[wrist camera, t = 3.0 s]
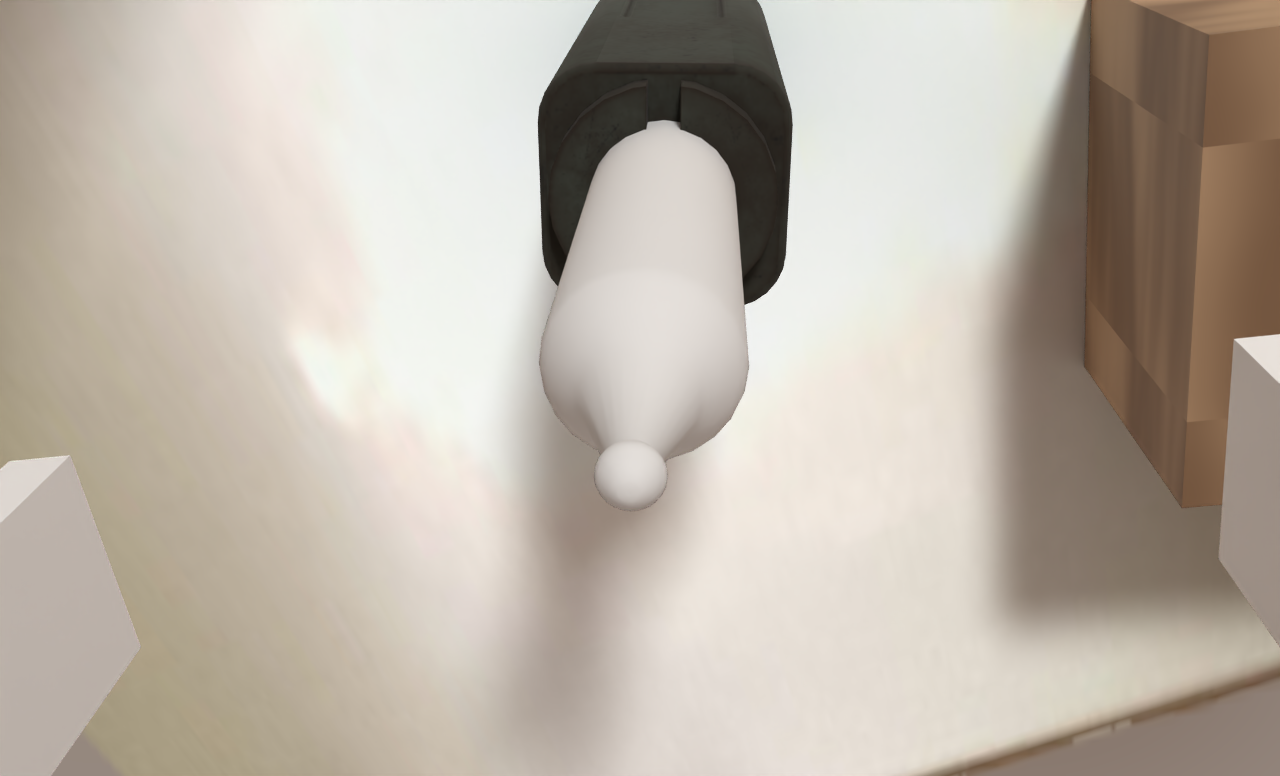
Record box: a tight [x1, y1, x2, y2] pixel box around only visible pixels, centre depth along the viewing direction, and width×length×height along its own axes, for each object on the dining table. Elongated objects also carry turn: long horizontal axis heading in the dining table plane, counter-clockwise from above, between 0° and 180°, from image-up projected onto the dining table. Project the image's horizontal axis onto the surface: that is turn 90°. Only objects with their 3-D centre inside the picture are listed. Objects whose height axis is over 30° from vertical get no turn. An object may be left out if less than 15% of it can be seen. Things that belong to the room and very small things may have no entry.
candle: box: [538, 0, 793, 511], centre depth 25 cm, size 5×5×25 cm
